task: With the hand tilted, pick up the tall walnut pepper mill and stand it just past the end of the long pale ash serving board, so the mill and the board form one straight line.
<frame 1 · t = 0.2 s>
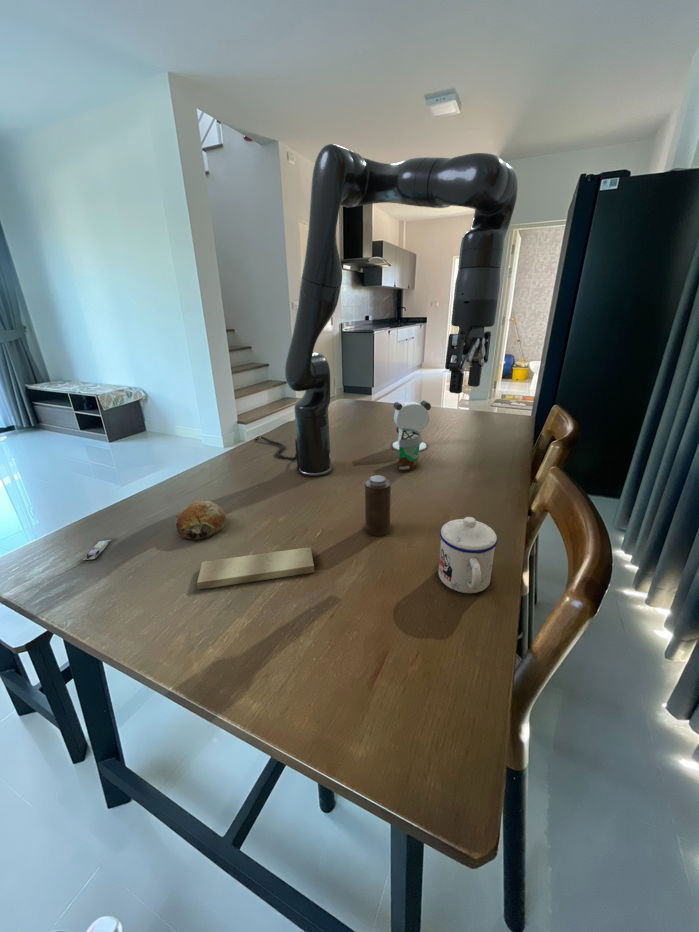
hand: (464, 389, 74), 29 cm above the table, tool pointing down, fingers open, 8 cm apart
food container: (410, 466, 114), on the table
granola bar: (98, 552, 77), on the table
panda figurine: (410, 446, 130), on the table
teacup with lid: (465, 583, 65), on the table
bread roll: (202, 529, 84), on the table
pepper mill: (377, 529, 82), on the table
serving board: (258, 570, 70), on the table
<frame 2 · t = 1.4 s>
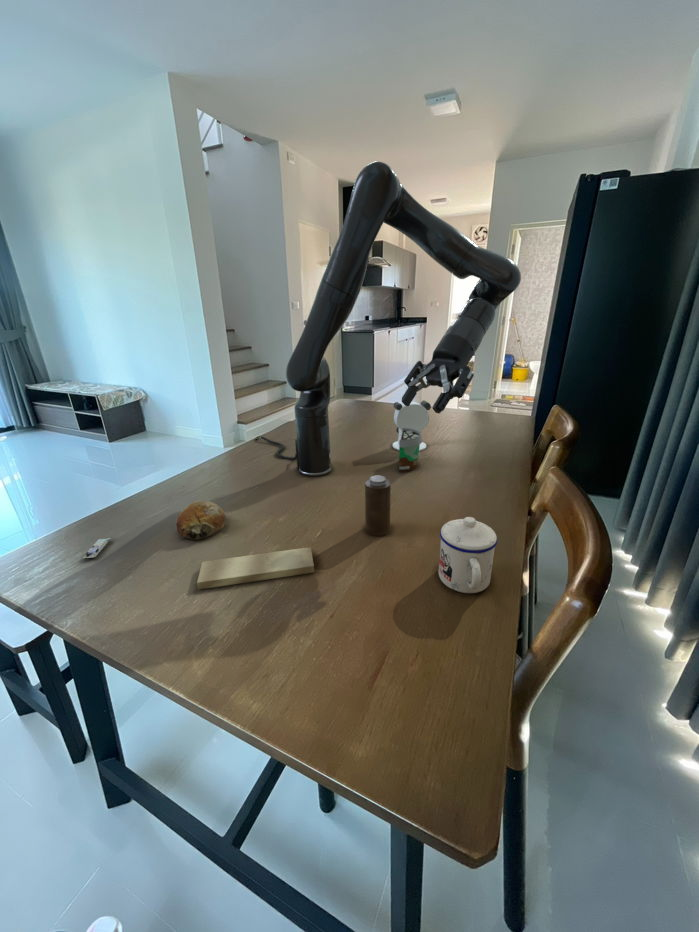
hand: (419, 407, 79), 25 cm above the table, tool tilted 45°, fingers open, 8 cm apart
nothing on the table moved.
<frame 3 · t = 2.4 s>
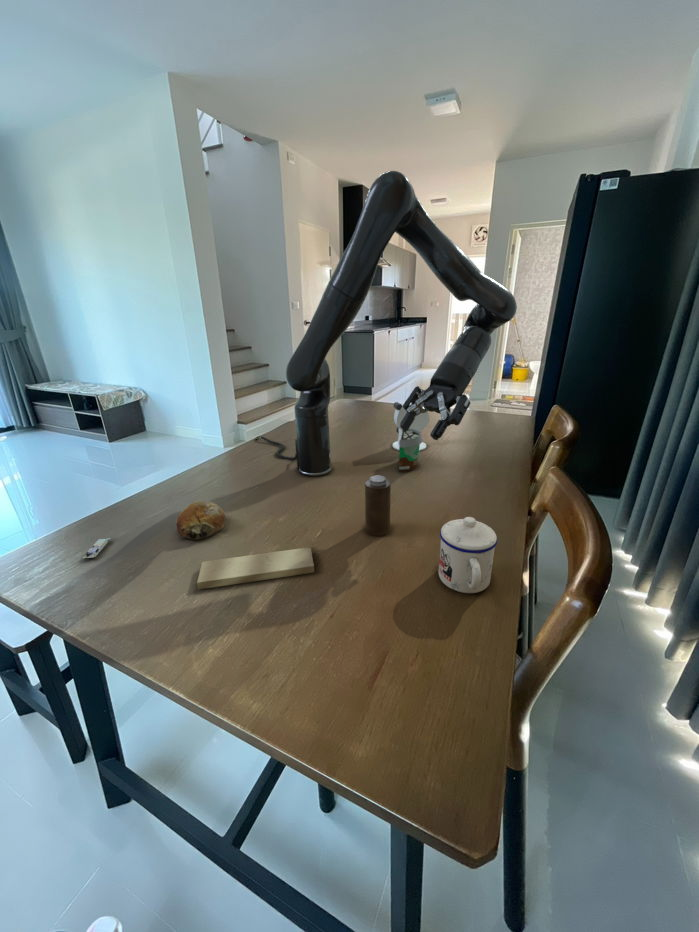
hand: (417, 433, 81), 19 cm above the table, tool tilted 45°, fingers open, 8 cm apart
nothing on the table moved.
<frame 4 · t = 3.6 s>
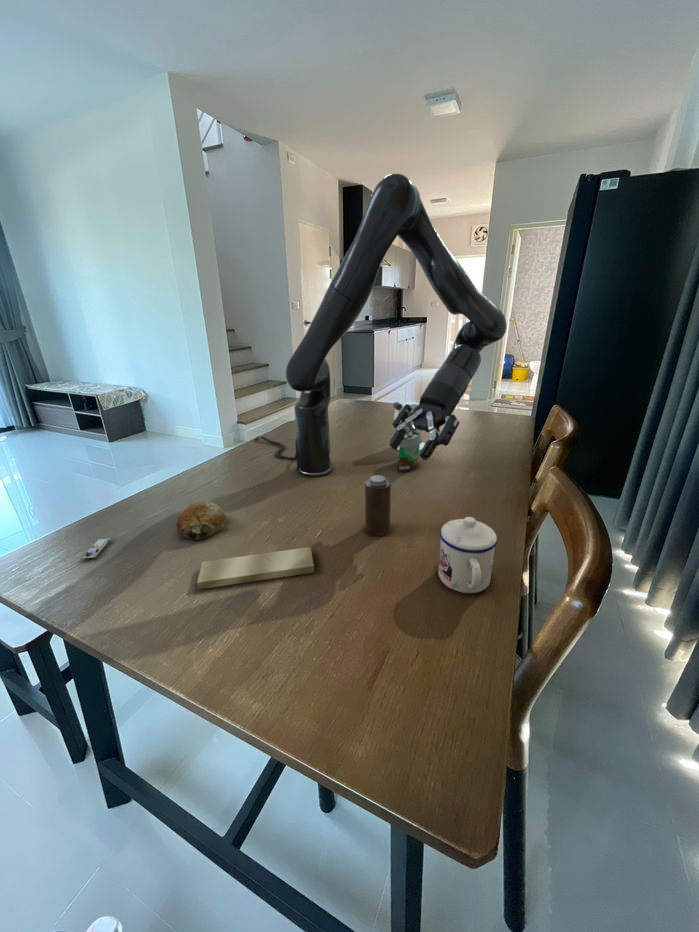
hand: (406, 452, 80), 16 cm above the table, tool tilted 45°, fingers open, 8 cm apart
nothing on the table moved.
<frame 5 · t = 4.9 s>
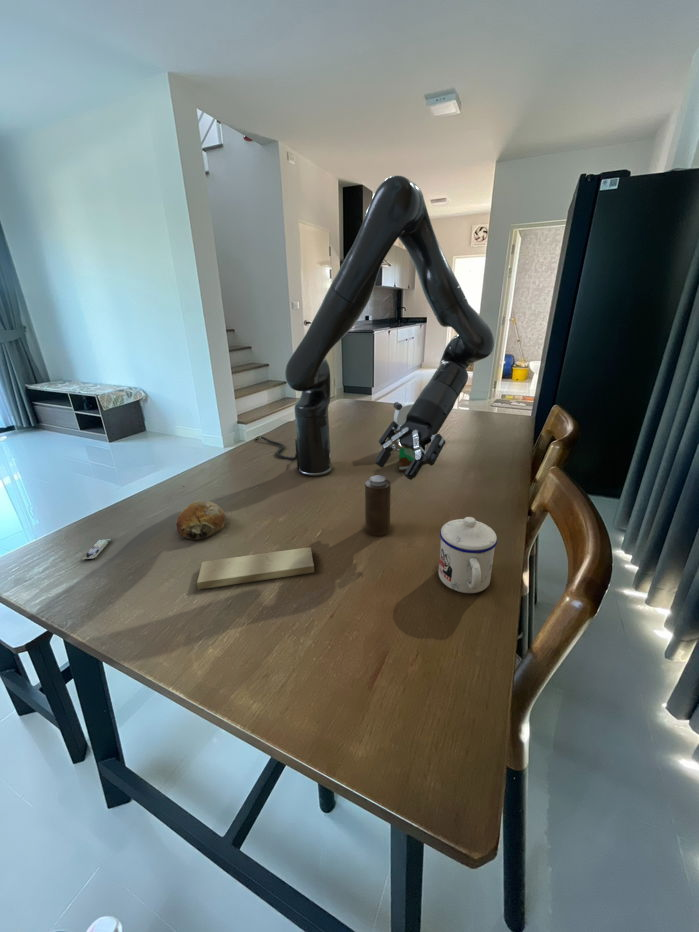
hand: (392, 471, 79), 12 cm above the table, tool tilted 45°, fingers open, 8 cm apart
nothing on the table moved.
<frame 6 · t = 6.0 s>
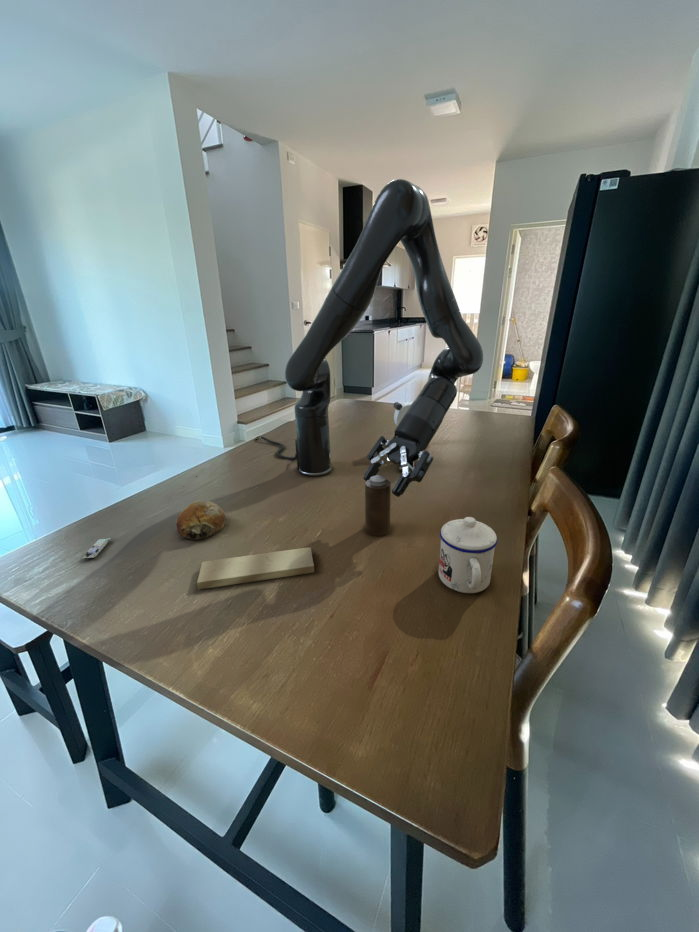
hand: (380, 487, 78), 10 cm above the table, tool tilted 45°, fingers open, 8 cm apart
nothing on the table moved.
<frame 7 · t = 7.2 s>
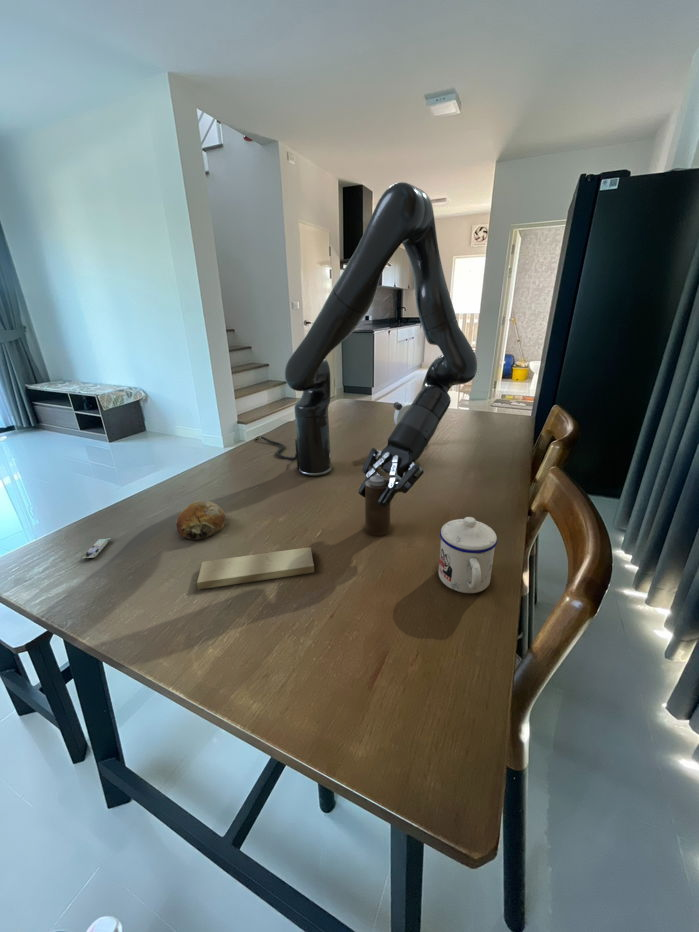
hand: (371, 500, 78), 8 cm above the table, tool tilted 45°, fingers closed on pepper mill, 5 cm apart
pepper mill: (377, 529, 82), on the table, touching gripper
everything else where it was.
when the fingers open (8 cm above the table, at t = 15.9 s): pepper mill stays where it is, on the table.
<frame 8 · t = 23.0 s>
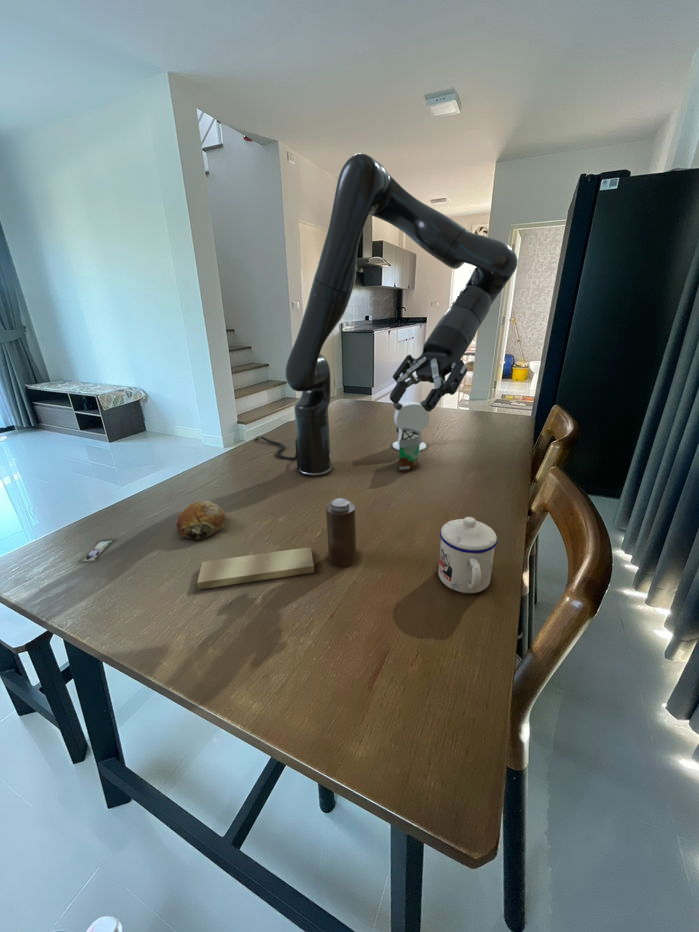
hand: (408, 405, 72), 27 cm above the table, tool tilted 45°, fingers open, 8 cm apart
pepper mill: (342, 558, 73), on the table
everything else where it was.
at the end: pepper mill 0.1 cm from the target spot, on the table; pepper mill tilted 0°; the gripper is holding nothing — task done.
